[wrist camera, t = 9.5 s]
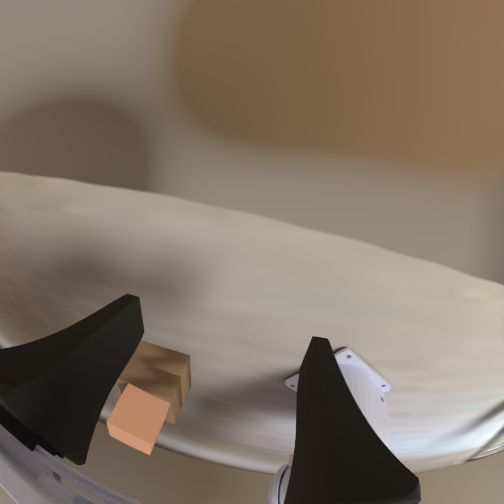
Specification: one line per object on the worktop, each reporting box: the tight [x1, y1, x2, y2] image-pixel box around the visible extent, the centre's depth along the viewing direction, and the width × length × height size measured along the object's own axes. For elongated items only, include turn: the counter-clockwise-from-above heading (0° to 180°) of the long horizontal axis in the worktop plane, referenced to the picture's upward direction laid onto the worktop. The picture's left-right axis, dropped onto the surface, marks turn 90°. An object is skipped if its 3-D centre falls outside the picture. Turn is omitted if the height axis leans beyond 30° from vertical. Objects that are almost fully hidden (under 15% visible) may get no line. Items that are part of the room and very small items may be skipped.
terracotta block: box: [107, 383, 170, 455], centre depth 22 cm, size 4×4×5 cm
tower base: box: [131, 340, 191, 403], centre depth 28 cm, size 6×6×3 cm
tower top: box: [117, 359, 182, 424], centre depth 26 cm, size 6×6×3 cm
